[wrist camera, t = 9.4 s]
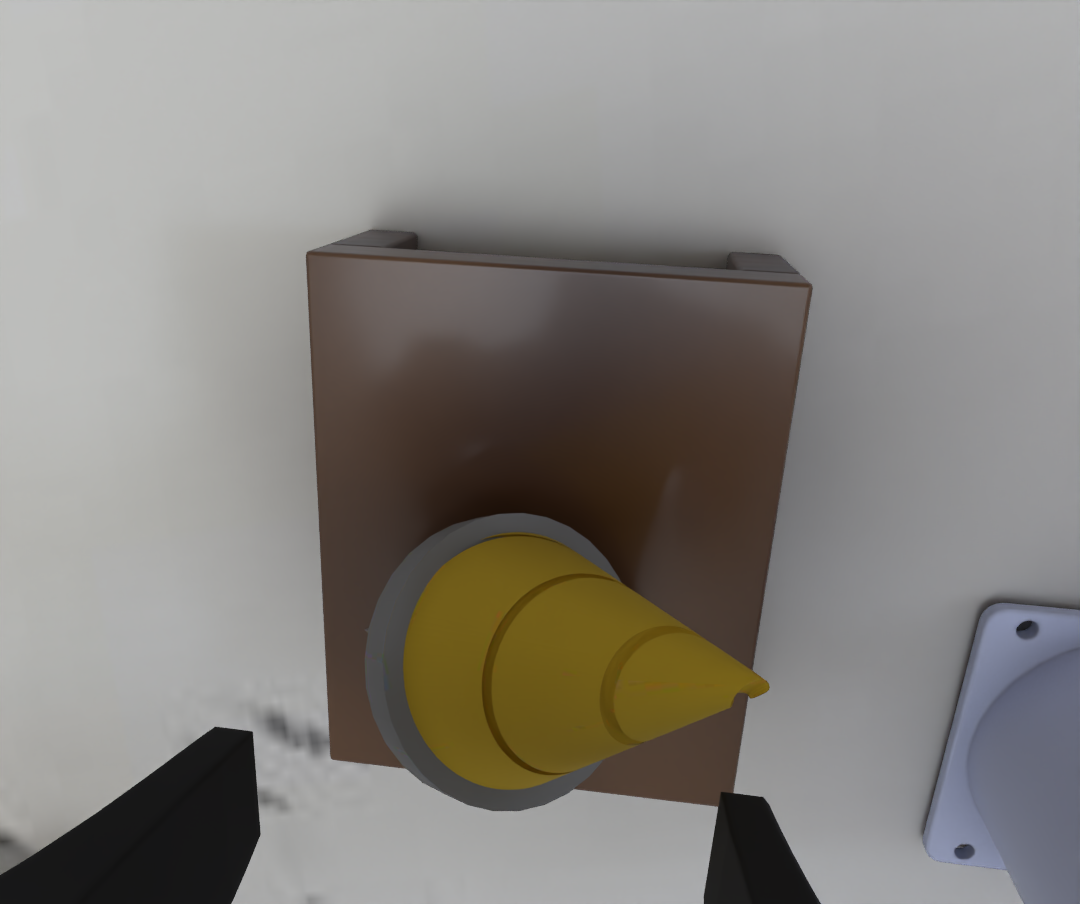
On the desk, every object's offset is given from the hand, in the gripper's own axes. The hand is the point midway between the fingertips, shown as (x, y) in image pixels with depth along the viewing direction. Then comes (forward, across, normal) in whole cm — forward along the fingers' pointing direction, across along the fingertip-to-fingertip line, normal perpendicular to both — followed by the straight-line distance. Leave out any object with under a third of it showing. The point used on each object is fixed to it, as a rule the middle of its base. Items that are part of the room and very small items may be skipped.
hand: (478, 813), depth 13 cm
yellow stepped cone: (+6, 0, -1) cm, 6 cm away
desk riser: (+10, 0, -1) cm, 10 cm away
